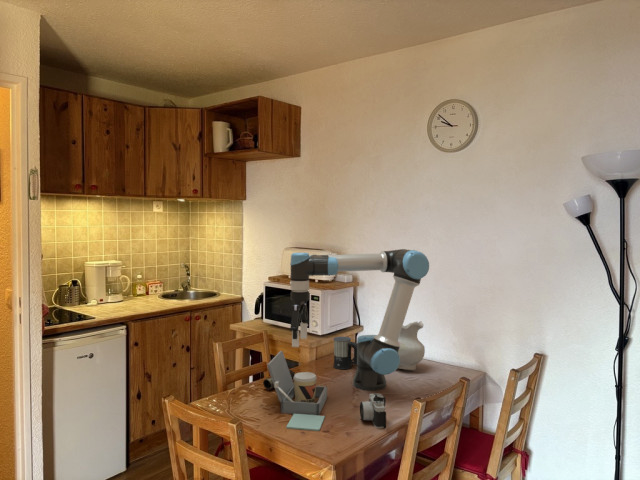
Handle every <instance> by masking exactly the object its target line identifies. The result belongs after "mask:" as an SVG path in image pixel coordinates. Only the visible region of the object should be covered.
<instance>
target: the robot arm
mask: <svg viewBox="0 0 640 480" xmlns="http://www.w3.org/2000/svg"><path fill="white" fill-rule="evenodd" d="M429 270H430V262H429V259H428V257H427V256H426V255H425V254H424V253H423V252H421V251H418V250H415V249H406V248H402V249H401V248H400V249H394V250H381V251H380V252H379V253H352V254H351V253H350V254H345V253H343V254H311V255H310V254H309V252H292V254H291V255H290V282H289V285H290V290H291V291H290V300H291V301H292V302H295V303H294V304H292V312H291V321H290V328H289V331H291V347H292V348H299V347H300V339H301V340H302V339H303V340H305V339H306V340H307V339H308V324H309V323H310V320H309V314H308V313H309V312H308V306H307V302H308V301H309V300H310V291H309V290H310V277H314V276H316V277H317V276H318V277H319V276H320V277H321V276H329V277H331V276H336V275H337V274H338V272H364V271H380V272H381V273H391V274H393V276H392V277H393V279H394V281H395V282H394V284H393V288H392V290H391V294H390V298H389V299H388V303H387V306H386V310H385V312H384V315H383V319H382V322H381V325H380V327H379V332H378V334H364V335H359V336H358V337H357V342H356V344H357V365H356V370H355V373H354V376H353V379H352V386H353V387H354V388H356V389H358V390H361V391H367V392H368V391H369V392H370V391H371V392H374V391H375V392H377V391H380V390H385V389H386V388H387V380H386V375H388V376H389V375H391V374H392V373H394V372H395V371H396V370H397V369H399V368H398V366H399V363H400V357H399V355H398V351H399V348H400V345H399V343H398V338H399V335H400V332H401V329H402V326H404V322H405V319H406V315H407V312H408V310H409V306H410V303H411V300H412V298H413V294H414V290H415V288H416V287H418V286H419V285H420V284H421V281H422V279H423V278H425V277H426V276H427V274H428V273H429ZM300 321H301V322H300ZM299 328H300V330H299Z"/></svg>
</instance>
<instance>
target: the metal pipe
mask: <svg viewBox="0 0 640 480" xmlns="http://www.w3.org/2000/svg"><path fill="white" fill-rule="evenodd" d="M289 372H290V374H291V377H292V380H293V381H294V375H295V374H296V371H293V370H292V369H289ZM262 382H263V383H262V384H263V388H265V389H266V390H271V389H273V388H274V384H273V381H272V378H271V377H268V378H265V379H264V380H263V381H262Z"/></svg>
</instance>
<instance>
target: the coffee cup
mask: <svg viewBox="0 0 640 480" xmlns="http://www.w3.org/2000/svg"><path fill="white" fill-rule="evenodd" d="M317 378H318V377H317V375H316V374H315V373H314V372H309V371H303V372H302V371H301V372H297V373H295V374H294V378H293V383H294V390H295V396H294V401H295V402H308V403H316V402H315V401H316V397H315V392H316V386H317Z"/></svg>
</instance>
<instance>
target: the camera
mask: <svg viewBox="0 0 640 480" xmlns="http://www.w3.org/2000/svg"><path fill="white" fill-rule="evenodd" d="M368 397H369V398H368V400H365V401H360V402H359V414H360V415H359V416H360V420H362V421H371V422H372V424H373V426H374V427H375V428H376V429H386V428H387V412H386V411H385V409H386V408H385V407H386V402H387V401H386V396H384V395H383V394H381V393H375V392H373V393H369V396H368Z"/></svg>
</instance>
